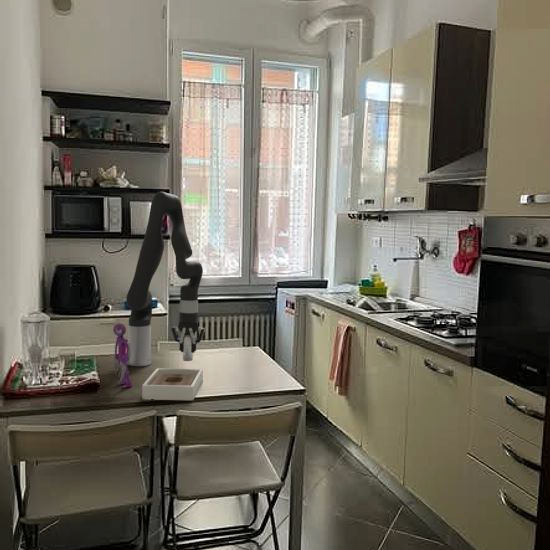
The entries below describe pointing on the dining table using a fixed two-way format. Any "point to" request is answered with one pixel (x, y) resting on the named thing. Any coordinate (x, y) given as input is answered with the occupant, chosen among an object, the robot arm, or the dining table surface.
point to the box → (172, 386)
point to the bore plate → (174, 379)
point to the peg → (187, 348)
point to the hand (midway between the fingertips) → (187, 351)
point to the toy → (121, 355)
